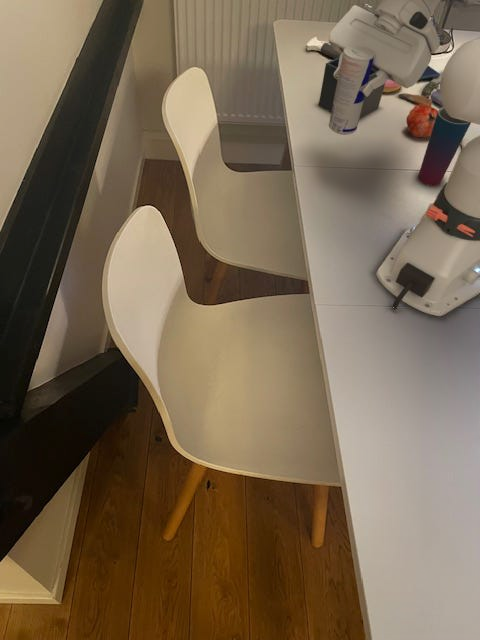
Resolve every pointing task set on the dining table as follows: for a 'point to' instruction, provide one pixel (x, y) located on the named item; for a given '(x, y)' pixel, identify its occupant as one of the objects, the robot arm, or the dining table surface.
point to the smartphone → (429, 73)
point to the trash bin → (330, 88)
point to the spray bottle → (322, 48)
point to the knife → (431, 86)
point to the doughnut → (390, 86)
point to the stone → (416, 99)
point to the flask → (436, 97)
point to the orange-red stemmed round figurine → (421, 120)
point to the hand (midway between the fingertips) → (349, 86)
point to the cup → (441, 147)
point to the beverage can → (350, 89)
